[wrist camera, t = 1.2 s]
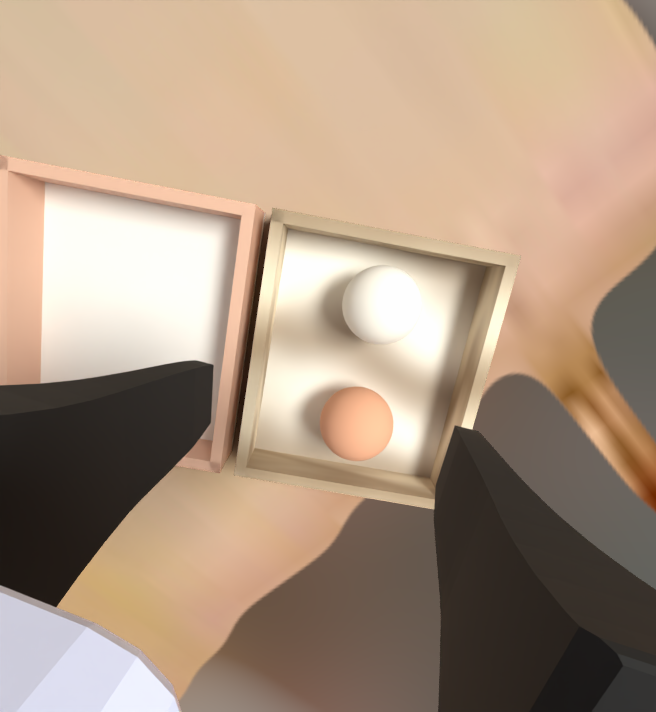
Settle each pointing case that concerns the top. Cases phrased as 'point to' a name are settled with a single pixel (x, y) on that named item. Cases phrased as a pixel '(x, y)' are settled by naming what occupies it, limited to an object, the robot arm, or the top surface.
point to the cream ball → (382, 304)
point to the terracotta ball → (356, 423)
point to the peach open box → (125, 284)
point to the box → (366, 355)
